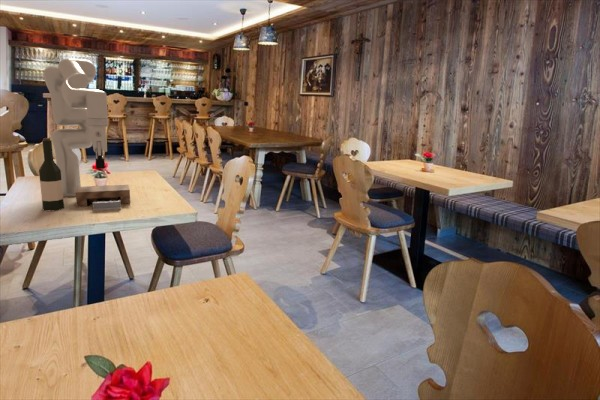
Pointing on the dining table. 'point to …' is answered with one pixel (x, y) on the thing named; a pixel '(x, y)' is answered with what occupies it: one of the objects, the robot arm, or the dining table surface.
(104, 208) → the tray
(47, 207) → the wine bottle
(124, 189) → the shelf
